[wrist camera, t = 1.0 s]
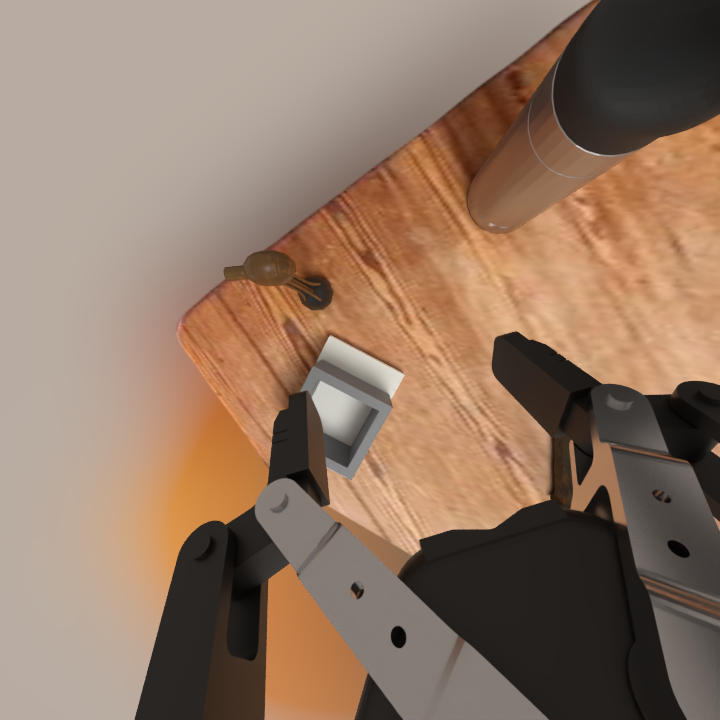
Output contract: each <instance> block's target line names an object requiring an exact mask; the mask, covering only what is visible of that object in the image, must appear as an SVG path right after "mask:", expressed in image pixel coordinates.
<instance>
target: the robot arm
mask: <svg viewBox="0 0 720 720" xmlns="http://www.w3.org/2000/svg"><path fill="white" fill-rule="evenodd" d="M719 114H720V0H601V1H600V2H599V3H598V4H597V5H596V7H595V8H594V9H593V11H592V12H591V13H590V14H589V16H588V17H587V18H586V20H585V21H584V22H583V24H582V25H581V27H580V28H579V29H578V31H577V32H576V34H575V35H574V37H573V38H572V39H571V41H570V42H569V44H568V45H567V47H566V48H565V50H564V51H563V52H562V54H561V55H560V57H559V58H558V59H557V61H556V62H555V64H554V65H553V67H552V68H551V69H550V71H549V72H548V74H547V75H546V76H545V78H544V79H543V81H542V82H541V84H540V85H539V87H538V88H537V89H536V91H535V92H534V94H533V95H532V96H531V98H530V99H529V101H528V102H527V104H526V105H525V106H524V108H523V109H522V111H521V112H520V113H519V115H518V116H517V118H516V119H515V120H514V122H513V123H512V125H511V126H510V127H509V129H508V130H507V132H506V133H505V134H504V136H503V137H502V139H501V140H500V142H499V143H498V144H497V146H496V147H495V149H494V150H493V151H492V153H491V154H490V156H489V157H488V158H487V160H486V161H485V162H484V164H483V165H482V167H481V168H480V169H479V171H478V172H477V174H476V175H475V177H474V178H473V180H472V182H471V184H470V187H469V190H468V197H467V202H468V209H469V212H470V215H471V216H472V218H473V220H474V221H475V222H476V223H477V225H478V226H480V227H481V228H483V229H484V230H486V231H489V232H492V233H507V232H511V231H513V230H515V229H517V228H519V227H521V226H522V225H524V224H525V223H527V222H529V221H530V220H532V219H533V218H535V217H537V216H538V215H540V214H541V213H543V212H544V211H546V210H547V209H549V208H550V207H552V206H554V205H555V204H557V203H558V202H560V201H561V200H563V199H564V198H566V197H567V196H569V195H571V194H572V193H574V192H575V191H577V190H578V189H580V188H581V187H583V186H584V185H586V184H588V183H589V182H591V181H592V180H594V179H595V178H597V177H598V176H600V175H601V174H603V173H605V172H606V171H608V170H609V169H611V168H612V167H614V166H615V165H617V164H618V163H620V162H621V161H623V160H624V159H626V158H627V157H629V156H631V155H632V154H634V153H635V152H637V151H638V150H640V149H641V148H643V147H644V146H646V145H648V144H649V143H651V142H653V141H654V140H656V139H657V138H659V137H664V136H668V135H672V134H676V133H679V132H682V131H686V130H688V129H691V128H693V127H695V126H698V125H700V124H702V123H704V122H706V121H708V120H710V119H712V118H713V117H715V116H717V115H719ZM492 371H493V374H494V376H495V377H496V379H497V380H498V381H499V382H500V383H501V384H502V385H503V386H504V387H505V388H506V389H507V390H508V391H509V393H510V394H511V395H512V396H513V397H514V398H515V399H516V400H517V401H518V402H519V403H520V404H521V405H522V406H523V407H524V408H525V409H526V410H527V411H528V412H529V414H530V415H531V416H532V417H533V418H534V419H535V420H536V421H537V422H538V423H539V424H540V425H541V426H542V427H543V428H544V429H545V430H546V431H547V432H548V433H549V435H550V436H551V437H552V438H553V439H554V438H558V437H561V436H565V435H567V436H568V437H569V438H570V439H571V441H570V443H569V449H570V460H571V471H572V483H573V498H572V502H571V509H562V507H561V506H560V505H559V504H558V502H557V501H556V500H555V499H552V500H548V501H545V502H542V503H539V504H535V505H532V506H529V507H525V508H522V509H521V510H519V511H518V512H516V513H515V514H514V515H512V516H511V517H510V518H508V519H507V520H505V521H504V522H503V523H501V524H500V525H499V526H497V527H496V528H494V529H489V530H450V531H447V532H443V533H440V534H437V535H434V536H430V537H427V538H424V539H420V540H419V541H420V547H421V550H419V551H418V552H417V553H415V554H414V555H413V556H412V557H411V558H410V559H409V560H408V561H407V562H406V564H405V565H404V566H403V568H402V569H401V571H400V572H399V574H398V576H396V575H395V574H394V573H392V572H391V571H390V570H389V569H388V568H387V567H386V566H385V565H384V564H383V563H382V562H381V561H380V560H379V559H378V558H377V557H376V556H375V555H374V554H373V553H372V552H371V551H370V550H369V549H367V547H366V546H364V544H362V543H361V542H360V541H359V540H358V539H357V538H356V537H355V536H354V535H353V534H352V533H351V532H350V531H349V530H348V529H347V528H346V527H345V526H343V525H342V524H341V523H337V522H336V521H335V520H333V518H331V517H330V516H329V515H328V514H327V513H326V512H325V511H324V510H323V509H322V507H323V506H326V505H329V504H330V500H329V490H328V479H327V468H326V457H325V447H324V436H323V427H322V422H321V418H320V415H319V413H318V411H317V409H316V406H315V404H314V402H313V400H312V397H311V395H310V393H309V391H308V390H306V391H302V392H299V393H295V394H292V395H290V396H289V409H286V410H282V411H280V412H279V414H278V416H277V418H276V420H275V421H274V427H273V437H272V448H271V458H270V468H269V478H268V485H267V487H266V488H265V489H264V490H263V491H262V492H261V494H260V495H259V497H258V499H257V501H256V504H255V505H254V506H253V507H252V508H251V509H249V510H248V511H247V512H245V513H244V514H242V515H240V516H239V517H237V518H236V519H234V520H232V521H231V522H229V523H228V524H226V525H225V524H224V523H223V522H220V521H210V522H207V523H205V524H203V525H201V526H200V527H198V528H197V529H196V530H195V531H194V532H192V533H191V535H190V536H189V537H188V538H187V540H186V541H185V542H184V544H183V546H182V548H181V550H180V552H179V555H178V558H177V562H176V566H175V569H174V573H173V577H172V581H171V584H170V588H169V592H168V596H167V599H166V603H165V607H164V611H163V615H162V618H161V622H160V626H159V630H158V633H157V637H156V641H155V645H154V649H153V652H152V656H151V660H150V663H149V667H148V671H147V675H146V679H145V682H144V686H143V690H142V694H141V697H140V701H139V705H138V709H137V712H136V716H135V720H264V715H265V714H264V713H265V678H266V674H265V673H266V639H267V601H268V599H267V598H268V579H269V578H270V577H272V576H273V575H274V574H276V573H277V572H279V571H280V570H281V569H283V568H284V567H285V566H287V565H288V564H289V563H290V564H291V565H292V567H293V568H294V570H295V571H296V572H297V576H298V578H299V579H300V581H301V582H302V584H303V585H304V586H305V588H306V589H307V590H308V592H309V593H310V595H311V596H312V597H313V599H314V600H315V601H316V603H317V604H318V605H319V607H320V608H321V610H322V611H323V612H324V614H325V615H326V616H327V618H328V619H329V620H330V622H331V623H332V624H333V626H334V627H335V628H336V630H337V631H338V633H339V634H340V635H341V636H342V638H343V639H344V641H345V642H346V643H347V644H348V646H349V647H350V648H351V650H352V651H353V653H354V654H355V655H356V657H357V658H358V660H359V661H360V662H361V664H362V665H363V666H364V667H365V669H366V670H367V672H368V674H367V678H366V681H365V685H364V688H363V691H362V695H361V698H360V702H359V705H358V709H357V713H356V716H355V720H720V531H719V529H718V526H717V524H716V522H715V519H714V517H715V518H716V519H717V520H718V521H720V457H718V456H717V455H716V454H714V453H713V452H711V450H712V449H713V448H714V447H715V446H716V445H717V444H718V443H720V385H717V384H714V383H709V382H703V381H688V382H683V383H681V384H679V385H678V386H677V388H676V389H675V391H674V392H673V394H669V395H642V394H641V393H639V392H638V391H636V390H634V389H631V388H629V387H626V386H622V385H617V384H601V383H600V382H599V381H597V380H596V379H594V378H593V377H591V376H590V375H589V374H587V373H586V372H584V371H583V370H581V369H580V368H579V367H577V366H576V365H574V364H573V363H571V362H570V361H569V360H566V358H564V357H563V356H561V355H560V354H557V352H556V351H554V350H553V349H551V348H550V347H549V346H547V345H545V344H543V343H540V342H537V341H535V340H528V339H527V338H526V337H524V336H523V335H521V334H520V333H519V332H511V333H508V334H504V335H501V336H498V337H496V338H495V341H494V349H493V358H492ZM713 516H714V517H713Z"/></svg>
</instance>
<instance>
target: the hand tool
mask: <svg viewBox="0 0 720 720" xmlns="http://www.w3.org/2000/svg"><path fill="white" fill-rule="evenodd" d="M570 441H571V439H570V438H569V437H568V436H567V435H565V436H561V437H558V438H555V439H554V449H555V460H554V474H555V477H554V481H555V492H554V493H551V495H550V499H555V500H556V501H557V502H558V504H559V505H560V506H561V507H562V509H571V502H572V498H573V483H572V471H571V460H570V449H569V443H570Z"/></svg>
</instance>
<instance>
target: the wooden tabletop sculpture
mask: <svg viewBox="0 0 720 720" xmlns="http://www.w3.org/2000/svg"><path fill="white" fill-rule="evenodd" d="M295 272H296V267H295V263H294V261H293V260H292V259H291V258H290V257H289V256H288V255H286V254H284V253H281V252H278V251H272V250H265V251H260V252H256V253H253V254H251V255H250V256H248V257H247V259H246V260H245V262H244V264H243V266H232V267H225V268H224V276H225V278H226V280H228V281H237V280H247V279H249V280H251V281H252V282H254V283H256V284H258V285H262V286H279V285H285V286H287V287H289V288H291V289H293V290H295V291H297V292H298V295H299V298H300V300H301V302H302V304H303V305H304V306H306V307H308V308H309V309H311V310H323V309H324V308H325V307H327V306H328V305H329V304H330V303H331V300H332V296H333V290H332V288H331V286H330V283H329V282H328V281H327V280H325V279H323V278H322V277H320V276H310V277H307V278H306V279H305V280H304V279H302V278H301V277H299V276H297V275H296V274H295ZM294 286H295V287H294ZM296 287H297V288H296ZM298 288H299V289H298Z"/></svg>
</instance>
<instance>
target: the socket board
mask: <svg viewBox="0 0 720 720" xmlns="http://www.w3.org/2000/svg"><path fill="white" fill-rule="evenodd" d="M403 377H404V373H403V372H401V371H399V370H397V369H395V368H393V367H391V366H389V365H387V364H385V363H384V362H382V361H380V360H378V359H376V358H374V357H372V356H370V355H368V354H367V353H365V352H363V351H361V350H359V349H357V348H355V347H353V346H351V345H349V344H348V343H346V342H344V341H342V340H340V339H338V338H336V337H334V336H332V335H330V336H329V338H328V340H327V342H326V344H325V346H324V348H323V350H322V352H321V354H320V356H319V358H318V360H317V362H316V364H315V365H314V366H313V367H312V369H311V371H310V373H309V375H308V377H307V379H306V381H305V383H304V385H303V387H302V389H301V391H300V392H302V391H306V390H308V391H309V393H310V395H311V397H312V400H313V402H314V404H315V406H316V409H317V411H318V413H319V415H320V418H321V422H322V427H323V436H324V447H325V457H326V468H328V469H330V470H332V471H334V472H336V473H338V474H340V475H342V476H344V477H346V478H348V479H350V480H352V478H353V477H354V475H355V473H356V471H357V470H358V468H359V466H360V464H361V462H362V461H363V459H364V457H365V455H366V454H367V452H368V450H369V448H370V447H371V445H372V443H373V441H374V439H375V438H376V436H377V434H378V432H379V431H380V429H381V427H382V425H383V424H384V422H385V420H386V418H387V417H388V415H389V413H390V411H391V409H392V408H393V407H392V403H391V398H392V397H393V395H394V393H395V391H396V389H397V388H398V386H399V384H400V382H401V381H402V379H403Z"/></svg>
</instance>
